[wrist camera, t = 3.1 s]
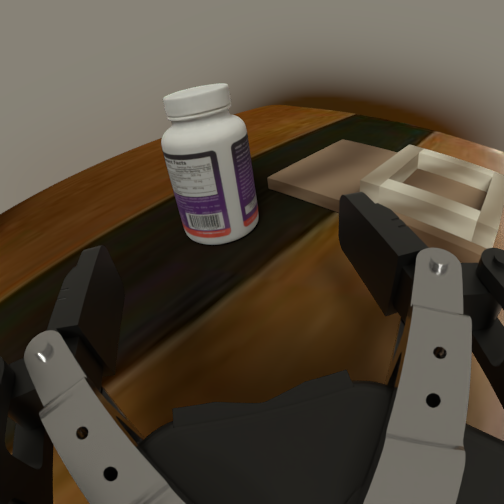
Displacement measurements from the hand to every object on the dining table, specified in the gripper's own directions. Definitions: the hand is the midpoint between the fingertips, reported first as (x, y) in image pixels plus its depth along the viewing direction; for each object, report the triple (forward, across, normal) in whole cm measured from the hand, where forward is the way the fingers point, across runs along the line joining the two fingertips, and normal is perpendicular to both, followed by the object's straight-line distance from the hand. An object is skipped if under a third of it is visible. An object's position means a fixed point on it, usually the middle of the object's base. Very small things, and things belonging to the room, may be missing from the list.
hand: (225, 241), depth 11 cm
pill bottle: (+11, 0, +6) cm, 13 cm away
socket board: (+11, -14, +6) cm, 19 cm away
